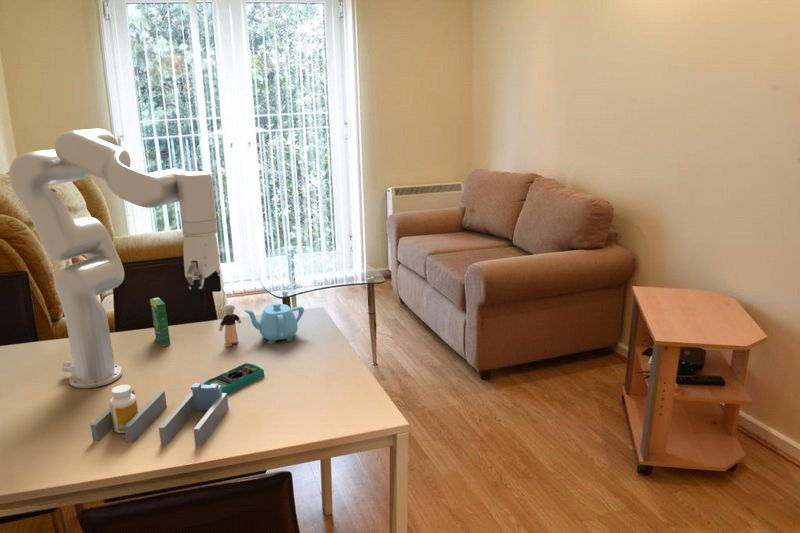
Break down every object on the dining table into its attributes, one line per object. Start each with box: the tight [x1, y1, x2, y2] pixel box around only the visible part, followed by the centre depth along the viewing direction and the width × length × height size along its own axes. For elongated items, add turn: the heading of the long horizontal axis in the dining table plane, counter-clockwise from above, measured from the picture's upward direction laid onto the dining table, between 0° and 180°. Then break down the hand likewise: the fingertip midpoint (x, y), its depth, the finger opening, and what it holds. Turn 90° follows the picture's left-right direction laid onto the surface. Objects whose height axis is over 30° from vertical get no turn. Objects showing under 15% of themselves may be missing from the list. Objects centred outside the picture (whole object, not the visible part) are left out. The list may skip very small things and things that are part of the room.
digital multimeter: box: [203, 362, 265, 396], centre depth 156 cm, size 7×15×3 cm, turn 145°
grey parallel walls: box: [89, 382, 229, 447], centre depth 136 cm, size 24×16×7 cm, turn 84°
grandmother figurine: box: [218, 303, 242, 348], centre depth 180 cm, size 8×4×13 cm, turn 154°
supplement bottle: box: [109, 384, 139, 434], centre depth 135 cm, size 5×5×10 cm
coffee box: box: [149, 297, 171, 347], centre depth 182 cm, size 8×3×13 cm, turn 34°
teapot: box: [243, 302, 305, 344], centre depth 183 cm, size 13×14×11 cm
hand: (207, 297), depth 141 cm, fingers open, 9 cm apart
